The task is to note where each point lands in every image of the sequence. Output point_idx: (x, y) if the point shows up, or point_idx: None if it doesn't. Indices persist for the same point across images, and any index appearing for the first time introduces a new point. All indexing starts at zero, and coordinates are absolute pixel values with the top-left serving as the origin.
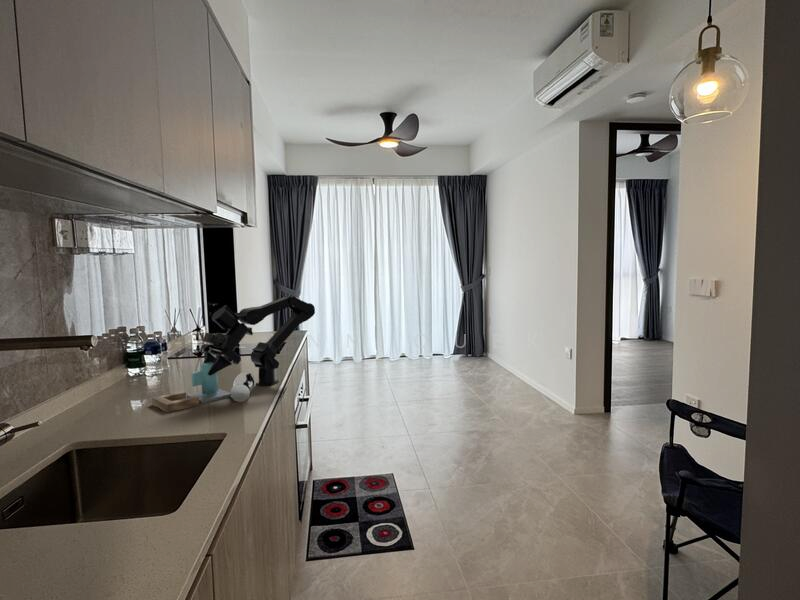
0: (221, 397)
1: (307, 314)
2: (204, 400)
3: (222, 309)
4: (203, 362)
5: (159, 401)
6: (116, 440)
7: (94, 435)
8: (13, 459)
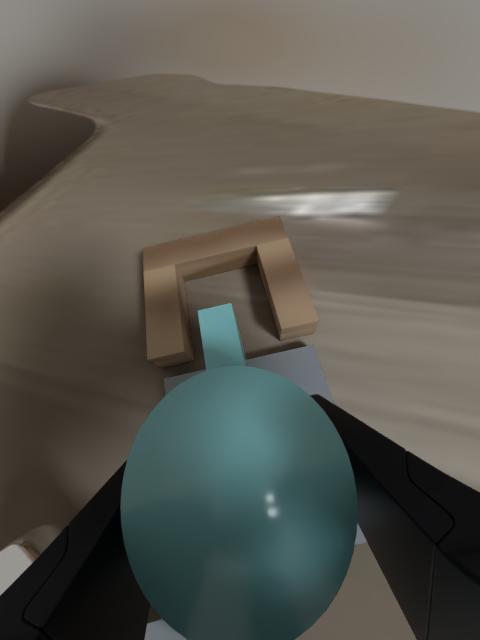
0: None
1: None
2: (165, 392)
3: None
4: (403, 450)
5: (208, 233)
6: (46, 175)
7: (113, 146)
8: (98, 86)
